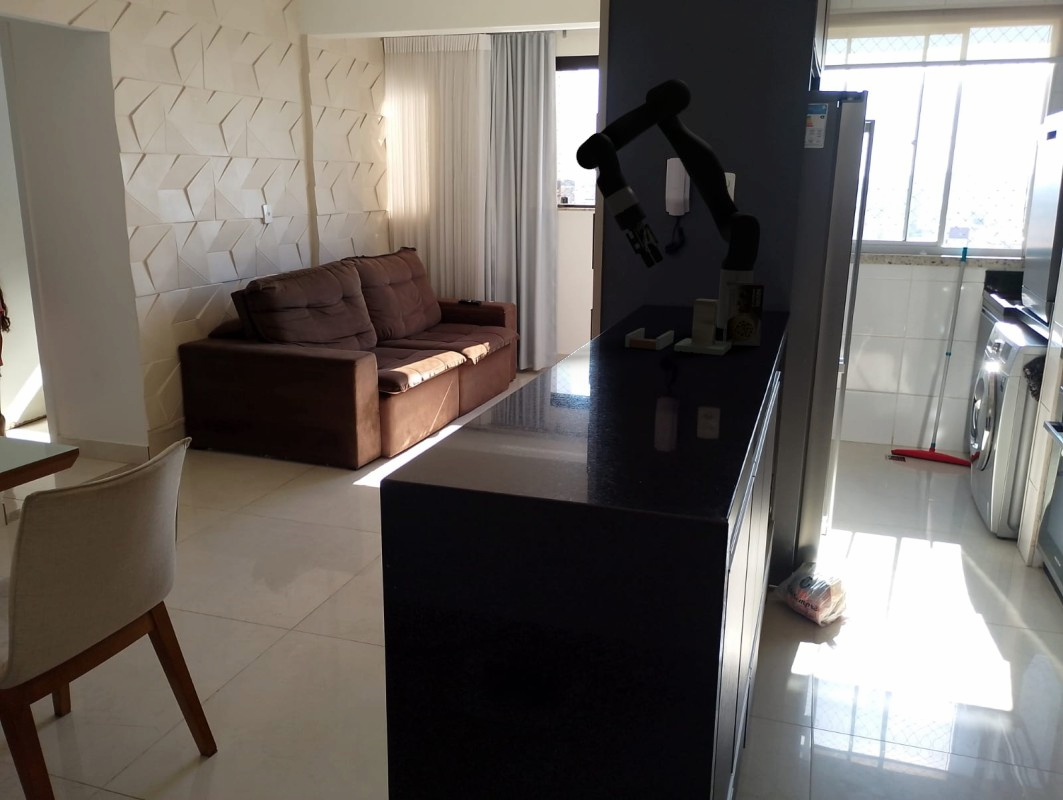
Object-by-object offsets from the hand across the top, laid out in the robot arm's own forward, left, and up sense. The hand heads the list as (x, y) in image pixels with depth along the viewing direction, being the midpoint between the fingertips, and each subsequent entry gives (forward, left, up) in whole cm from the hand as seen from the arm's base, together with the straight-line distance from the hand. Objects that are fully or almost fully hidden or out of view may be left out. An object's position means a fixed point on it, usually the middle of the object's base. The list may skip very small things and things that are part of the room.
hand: (656, 264), depth 223 cm
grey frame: (+3, 0, -20) cm, 21 cm away
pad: (+3, +14, -20) cm, 25 cm away
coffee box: (-11, +21, -21) cm, 32 cm away
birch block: (+3, +14, -19) cm, 24 cm away
